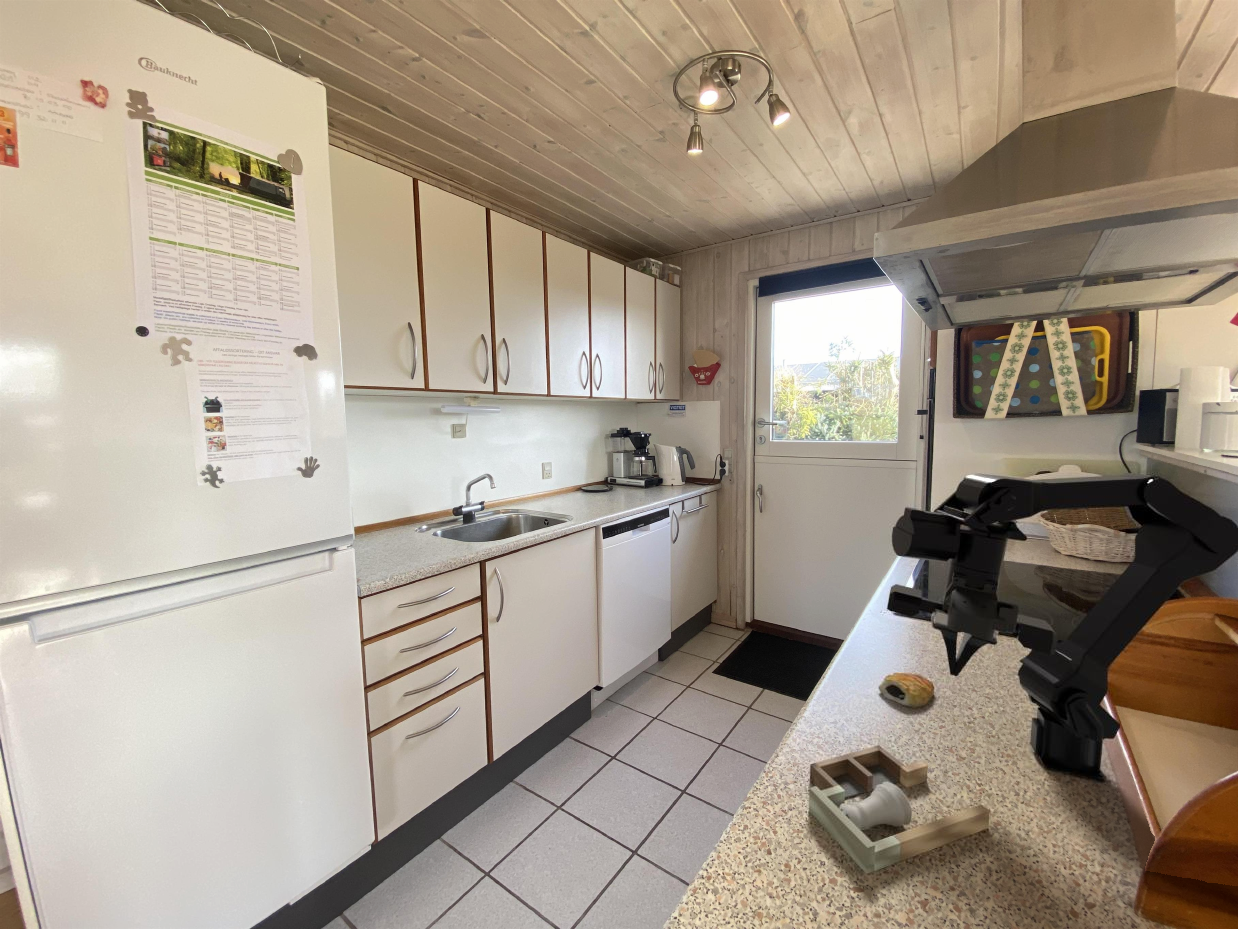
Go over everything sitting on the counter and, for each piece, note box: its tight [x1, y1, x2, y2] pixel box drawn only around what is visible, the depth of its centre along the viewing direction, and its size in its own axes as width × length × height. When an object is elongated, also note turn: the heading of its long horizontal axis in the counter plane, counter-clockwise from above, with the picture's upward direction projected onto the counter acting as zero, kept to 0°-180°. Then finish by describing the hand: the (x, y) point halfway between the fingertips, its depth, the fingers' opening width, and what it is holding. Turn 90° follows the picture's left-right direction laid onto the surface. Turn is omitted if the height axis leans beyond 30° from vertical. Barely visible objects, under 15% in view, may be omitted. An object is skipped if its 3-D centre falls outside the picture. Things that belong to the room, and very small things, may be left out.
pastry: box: [878, 672, 935, 708], centre depth 86 cm, size 9×7×4 cm
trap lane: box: [808, 744, 990, 875], centre depth 62 cm, size 18×13×3 cm
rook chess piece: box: [839, 781, 913, 831], centre depth 59 cm, size 4×4×8 cm
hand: (953, 674), depth 70 cm, fingers closed
